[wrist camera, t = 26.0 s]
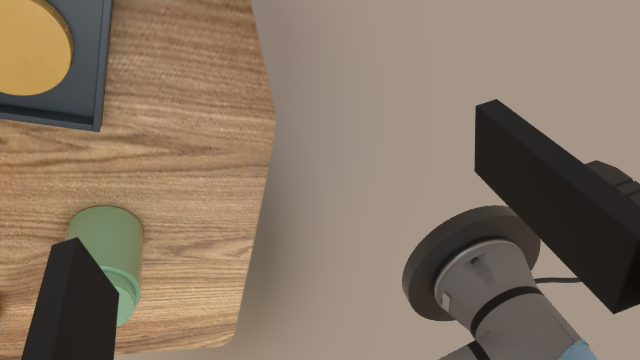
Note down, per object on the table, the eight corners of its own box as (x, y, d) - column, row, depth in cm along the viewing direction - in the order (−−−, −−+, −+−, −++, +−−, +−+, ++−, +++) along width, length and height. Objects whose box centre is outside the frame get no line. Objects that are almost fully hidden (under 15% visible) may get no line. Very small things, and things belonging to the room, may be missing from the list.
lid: (-66, -12, 34) (-76, -6, 32) (56, -18, 36) (52, -13, 34) (-20, 91, 39) (-26, 101, 37) (86, 81, 40) (83, 90, 39)
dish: (115, -24, 37) (113, -19, 35) (101, 122, 43) (99, 132, 42) (-95, -79, 32) (-108, -76, 30) (-75, 96, 38) (-85, 107, 37)
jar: (147, 208, 50) (145, 279, 42) (139, 260, 54) (135, 335, 45) (67, 202, 47) (48, 277, 39) (64, 257, 51) (46, 337, 42)
